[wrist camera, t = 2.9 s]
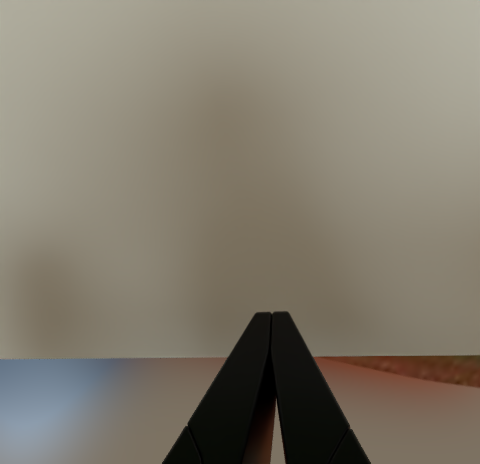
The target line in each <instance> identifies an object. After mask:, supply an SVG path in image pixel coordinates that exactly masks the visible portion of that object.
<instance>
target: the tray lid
mask: <svg viewBox="0 0 480 464" xmlns="http://www.w3.org/2000/svg"><path fill="white" fill-rule="evenodd" d="M274 311H288V312H289V313H290V315H291V317H292V319H293V321H294V322H295V324H296V326H297V328H298V330H299V332H300V334H301V335H302V337H303V339H304V341H305V343H306V345H307V347H308V349H309V350H310V352H311V354H312V356H416V355H480V0H0V359H66V358H67V359H68V358H69V359H70V358H71V359H72V358H178V357H179V358H180V357H181V358H184V357H185V358H186V357H228V356H229V355H230V353H231V351H232V350H233V348H234V347H235V345H236V343H237V342H238V340H239V338H240V337H241V335H242V333H243V332H244V330H245V329H246V327H247V325H248V324H249V322H250V320H251V319H252V317H253V316H254V314H255V313H256V312H271V313H273V312H274Z"/></svg>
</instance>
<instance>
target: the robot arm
mask: <svg viewBox="0 0 480 464" xmlns="http://www.w3.org/2000/svg"><path fill="white" fill-rule="evenodd" d="M276 399H277V406H278V414H279V421H280V428H281V435H282V442H283V449H284V456H285V463H286V464H371V462H370V461H369V459H368V457H367V455H366V454H365V452H364V450H363V448H362V447H361V445H360V443H359V441H358V439H357V437H356V436H355V434H354V432H353V430H352V429H350V425H349V423H348V421H347V419H346V417H345V416H344V414H343V412H342V410H341V408H340V406H339V404H338V403H337V401H336V399H335V397H334V395H333V393H332V392H331V390H330V388H329V386H328V384H327V382H326V380H325V378H324V376H323V375H322V373H321V371H320V369H319V367H318V366H317V363H316V362H315V360H314V358H313V356H312V354H311V352H310V350H309V349H308V347H307V345H306V343H305V341H304V339H303V337H302V335H301V334H300V332H299V330H298V328H297V326H296V324H295V322H294V321H293V319H292V317H291V315H290V313H289V312H288V311H274V312H273V313H271V312H256V313H255V314H254V316H253V317H252V319H251V320H250V322H249V324H248V325H247V327H246V329H245V330H244V332H243V333H242V335H241V337H240V338H239V340H238V342H237V343H236V345H235V347H234V348H233V350H232V351H231V353H230V355H229V356H228V358H227V360H226V361H225V363H224V365H223V366H222V368H221V369H220V371H219V373H218V374H217V376H216V377H215V379H214V381H213V382H212V384H211V386H210V387H209V389H208V390H207V392H206V394H205V395H204V397H203V399H202V400H201V402H200V404H199V405H198V407H197V409H196V410H195V412H194V413H193V415H192V417H191V418H190V420H189V422H188V426H185V428H184V429H183V431H182V433H181V434H180V436H179V438H178V439H177V441H176V442H175V444H174V445H173V447H172V449H171V450H170V452H169V453H168V455H167V456H166V458H165V459H164V461H163V462H162V464H270V461H271V450H272V440H273V430H274V418H275V407H276Z"/></svg>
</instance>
